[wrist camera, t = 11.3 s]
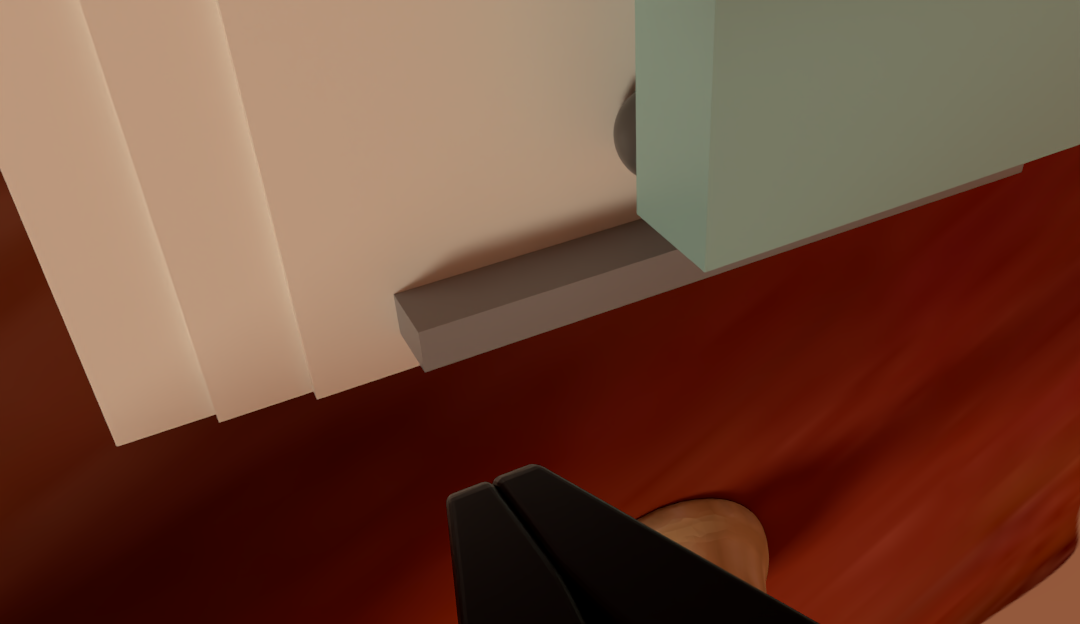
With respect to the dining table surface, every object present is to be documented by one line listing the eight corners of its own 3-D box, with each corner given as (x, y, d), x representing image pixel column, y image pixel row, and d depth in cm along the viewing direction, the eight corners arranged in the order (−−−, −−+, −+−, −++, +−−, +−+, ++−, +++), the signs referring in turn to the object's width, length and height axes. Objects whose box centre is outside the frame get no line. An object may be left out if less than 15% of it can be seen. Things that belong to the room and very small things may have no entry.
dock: (944, 169, 27) (1013, 206, 26) (115, 437, 20) (130, 515, 19) (1076, -480, 19) (1189, -491, 17) (-238, -407, 12) (-272, -412, 10)
